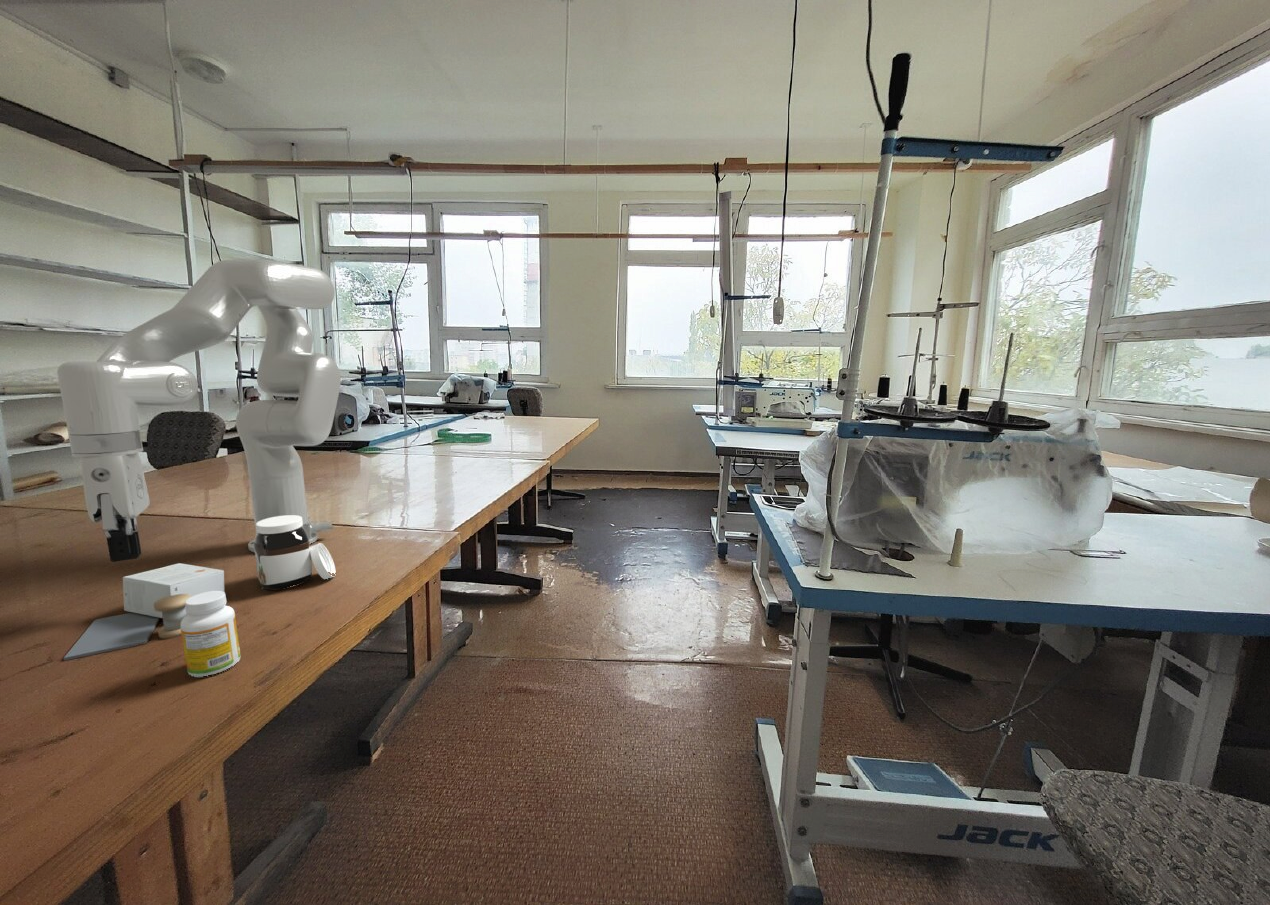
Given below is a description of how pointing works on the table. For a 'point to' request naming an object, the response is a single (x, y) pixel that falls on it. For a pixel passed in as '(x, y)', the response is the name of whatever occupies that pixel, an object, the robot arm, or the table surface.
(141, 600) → the small box
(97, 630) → the felt mat
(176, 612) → the thread spool
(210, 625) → the supplement bottle
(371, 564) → the table surface
